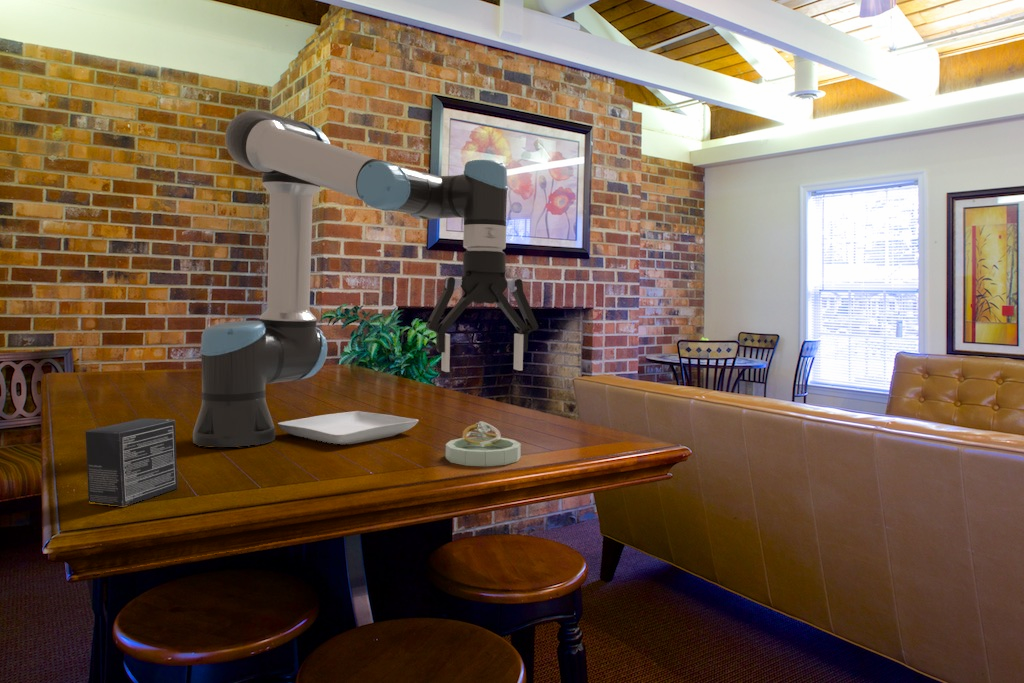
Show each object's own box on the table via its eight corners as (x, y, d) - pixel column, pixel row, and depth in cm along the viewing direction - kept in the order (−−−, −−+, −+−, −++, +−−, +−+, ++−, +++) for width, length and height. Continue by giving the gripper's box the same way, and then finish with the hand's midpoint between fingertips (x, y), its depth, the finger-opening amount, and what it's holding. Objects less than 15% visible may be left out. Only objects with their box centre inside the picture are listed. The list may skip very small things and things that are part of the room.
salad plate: (274, 437, 149) (273, 421, 149) (356, 423, 165) (356, 408, 165) (338, 452, 136) (338, 434, 135) (421, 435, 152) (421, 419, 152)
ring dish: (458, 468, 122) (458, 453, 122) (438, 452, 134) (438, 439, 134) (530, 463, 126) (530, 448, 126) (505, 448, 139) (505, 435, 138)
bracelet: (502, 451, 131) (500, 434, 138) (500, 435, 130) (499, 418, 138) (463, 454, 131) (463, 436, 138) (462, 438, 130) (462, 421, 137)
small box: (144, 485, 110) (142, 416, 109) (179, 489, 108) (178, 419, 107) (84, 504, 100) (82, 428, 99) (123, 508, 98) (121, 431, 97)
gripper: (419, 246, 120) (418, 374, 122) (558, 252, 129) (555, 371, 130) (410, 248, 127) (408, 369, 129) (541, 254, 136) (539, 367, 137)
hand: (482, 370), depth 129 cm, fingers open, 13 cm apart
